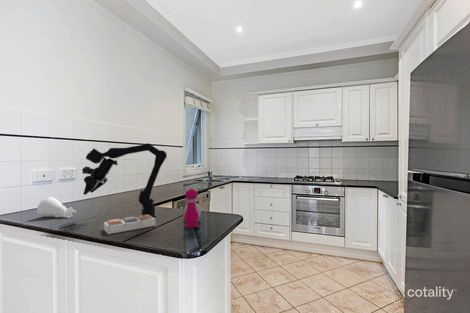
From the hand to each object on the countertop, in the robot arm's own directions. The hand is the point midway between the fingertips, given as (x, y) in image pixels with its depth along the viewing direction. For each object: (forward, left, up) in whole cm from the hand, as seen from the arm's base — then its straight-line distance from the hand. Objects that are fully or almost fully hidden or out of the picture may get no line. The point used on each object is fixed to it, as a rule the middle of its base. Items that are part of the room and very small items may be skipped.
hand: (87, 193), depth 129 cm
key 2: (-21, +28, -12) cm, 37 cm away
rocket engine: (+13, -20, -15) cm, 28 cm away
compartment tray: (-14, +28, -15) cm, 35 cm away
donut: (-44, +35, -15) cm, 58 cm away
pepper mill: (-38, +45, -15) cm, 61 cm away
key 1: (-7, +28, -12) cm, 31 cm away
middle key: (-14, +28, -12) cm, 34 cm away
